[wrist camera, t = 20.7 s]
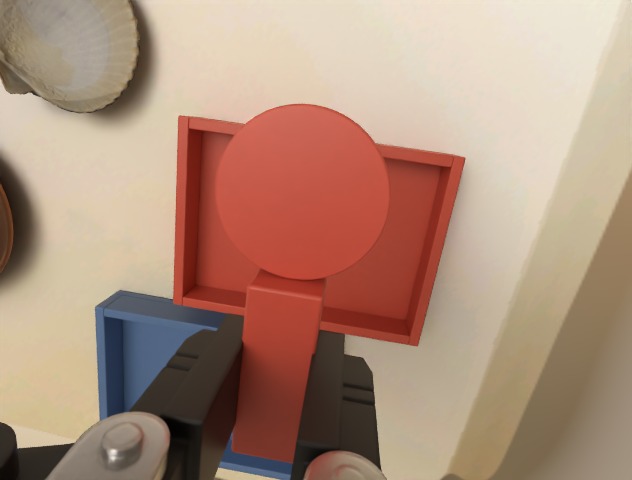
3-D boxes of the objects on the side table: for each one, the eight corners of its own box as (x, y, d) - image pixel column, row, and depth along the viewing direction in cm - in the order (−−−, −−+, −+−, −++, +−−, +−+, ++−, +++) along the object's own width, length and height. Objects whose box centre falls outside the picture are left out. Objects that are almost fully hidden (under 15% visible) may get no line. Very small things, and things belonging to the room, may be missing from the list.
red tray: (452, 154, 21) (466, 157, 19) (411, 325, 25) (418, 346, 22) (197, 117, 22) (177, 115, 20) (190, 287, 25) (172, 304, 23)
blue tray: (333, 326, 25) (330, 348, 23) (310, 454, 28) (306, 485, 26) (119, 289, 26) (94, 306, 23) (121, 418, 29) (100, 444, 27)
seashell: (169, 95, 24) (121, -64, 20) (156, 102, 21) (97, -79, 17) (39, 114, 23) (-36, -42, 19) (9, 125, 21) (-85, -54, 17)
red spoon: (235, 94, 8) (208, 86, 6) (402, 120, 8) (414, 117, 6) (212, 398, 10) (188, 445, 9) (339, 422, 10) (338, 474, 9)
